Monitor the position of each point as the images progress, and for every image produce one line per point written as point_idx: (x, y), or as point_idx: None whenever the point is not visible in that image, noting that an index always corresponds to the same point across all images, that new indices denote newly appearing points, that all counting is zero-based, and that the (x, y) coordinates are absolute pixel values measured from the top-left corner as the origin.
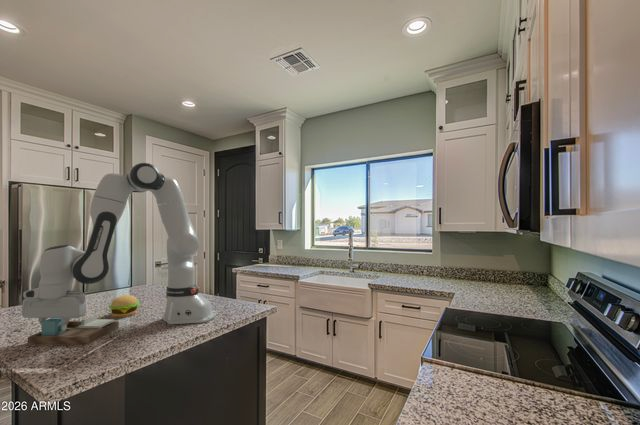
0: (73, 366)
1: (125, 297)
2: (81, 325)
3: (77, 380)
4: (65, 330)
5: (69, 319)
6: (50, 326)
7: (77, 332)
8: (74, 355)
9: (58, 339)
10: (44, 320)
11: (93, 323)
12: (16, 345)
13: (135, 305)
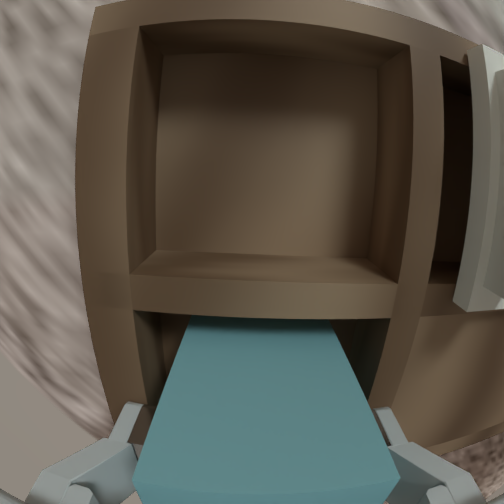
0: (475, 480)
1: None
2: (487, 291)
3: (487, 496)
4: (342, 351)
5: (461, 480)
6: None
7: (475, 389)
8: (466, 448)
9: None
10: (92, 490)
11: None
12: (55, 373)
13: None
